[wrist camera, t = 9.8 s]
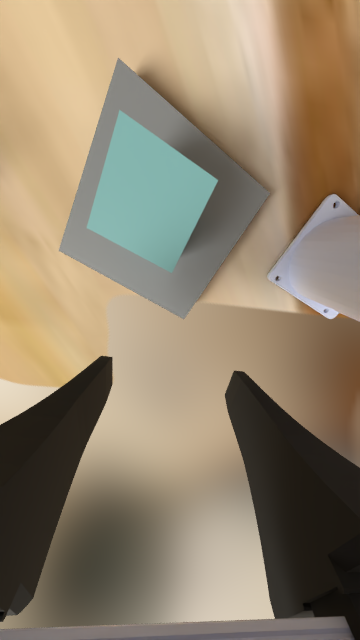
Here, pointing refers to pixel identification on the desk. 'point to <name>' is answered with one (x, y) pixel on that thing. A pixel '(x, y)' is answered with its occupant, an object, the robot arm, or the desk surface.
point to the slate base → (212, 227)
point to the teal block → (148, 195)
